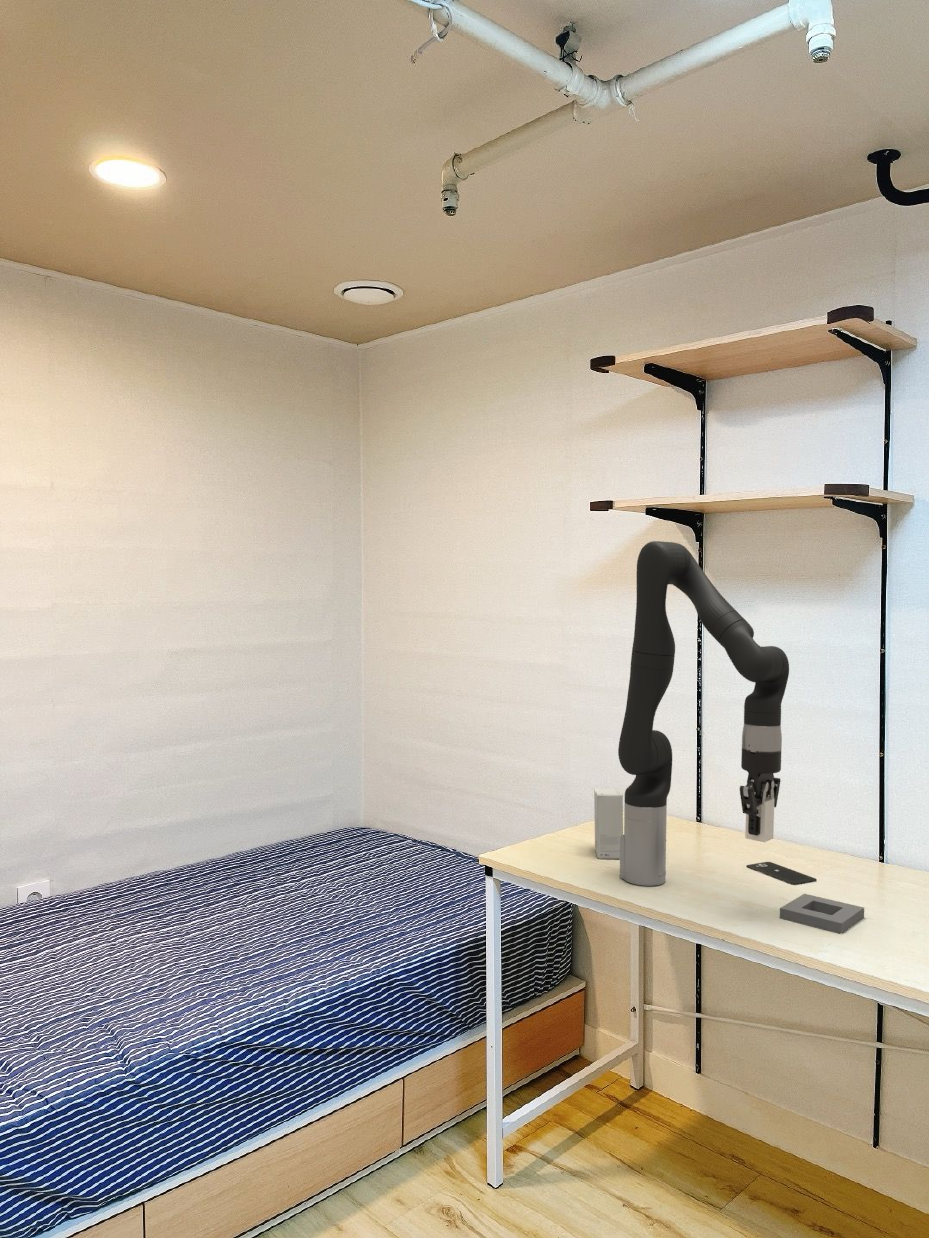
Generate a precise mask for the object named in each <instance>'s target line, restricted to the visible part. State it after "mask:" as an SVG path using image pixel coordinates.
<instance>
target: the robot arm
mask: <svg viewBox="0 0 929 1238" xmlns="http://www.w3.org/2000/svg"><path fill="white" fill-rule="evenodd" d="M668 585H672V586H674V587H675V588H677V589H678V590H680V591H681V592H682V593H683V594H685V596H686V597H687V599H689V600H690V602H691V603H692V605H693V606H694V609H695V611H696V613H697V616H698V618H699V621H700V622H701V624H702V625H703V628H705V630H706V631H707V632H708V633H709V634H710V635H711V636H712V637H713V638H714V639H715V641H716V642H717V643H718V644H720V646H722V648H723V649H724V650H725V651H726V652H725V653H726V654H727V657H729V658H728V659H729V660H730V662H731V663H732V665H733V667H734V668H735V669H736V671H737V672H738V673H739V674H740V675H741V677H743V678H744V679H745V680H747V681H748V682H752V683H754V688H753V691H752V692H751V693H750V694H748V695H746V697H745V699H744V705H743V727H742V734H741V761H740V762H741V769H742V770H744V771H746V772H747V773H748V774H747V778H746V779H747V780H746V785H740V786H739V795H740V802H741V803H740V805H741V810H742V813H743V814H745V815H746V814H747V815H749V821H748V833H749V834H751V835H756V836H757V835H759V834H760V822H761V817H760V815H761V806H762V805H763V804H764V802H765V798H766V797H767V798H770V799H774V808H777V804H778V799H779V793H780V787H781V782H782V781H781V778H779V777H775V776H774V774H778V773H780V772H781V770H782V750H783V749H782V745H783V744H782V742H783V741H782V740H783V739H782V738H783V736H782V735H783V734H782V725H781V724H782V702H783V699H784V695H785V692H786V689H787V685H788V679H789V675H790V662H789V659H788V656H787V654H786V653H785V651H784V650H783V649H782V648H780V647H778V646H774V645H764V646H760V644H758V643H757V642H756V641H755V639H754V636H755V632H754V628H753V627H752V626H751V624H750V623H749V622H748V621H747V620H746V619H745V618H744V617H743V616H742V615H741V614H740V613H739V612H738V611H737V610H736V608H734V607H733V605H731V604H730V603H729V602H728V600H727V599H726V598H725V597H724V596H723V595H722V594H721V592H719V590H718V589H717V588H716V586H715V585H714V584H713V582H711V580H710V579H709V577H708V575H707V574H706V573H705V572H704V571H703V569H702V567H701V566H700V565H699V563H698V562H697V560H696V558H694V556H693V554H692V553H691V552H690V551H689V549H687V547H686V546H684V545H682V544H681V543H678V542H673V541H660V540H659V541H658V540H652V541H648V542H647V543H646V544H644V546H642V548H641V549H640V551H639V554H638V556H637V561H636V603H635V604H636V605H635V607H636V608H635V619H634V633H633V634H634V635H633V642H632V648H631V649H632V650H631V657H630V658H631V659H630V671H629V680H628V689H627V697H626V698H627V700H626V705H625V710H624V711H625V712H624V717H623V723H622V727H621V732H620V737H619V740H618V741H619V742H618V750H617V751H618V752H617V753H618V754H617V755H618V761H619V763H620V765H621V768H622V769H623V770H624V771H625V773H628V774H629V775H632V776H635V777H634V779H633V781H632V783H631V784H630V785H628V786H627V788H626V789H625V791H624V804H623V835H621V837H620V859H619V879H623V880H624V881H625V882H627V883H629V884H632V885H636V886H637V885H638V886H644V887H645V886H649V887H653V886H659V885H662V884H664V883H666V874H667V873H666V872H667V869H666V867H667V862H666V861H667V816H668V815H667V814H668V813H667V808H668V806H667V803H668V796H669V794H670V791H671V787H672V771H673V749H672V744H671V741H670V739H669V738H668V737H667V735H666V734H665V733H663V732H662V731H659V730H656V729H653V728H654V721H655V716H656V712H657V709H658V707H659V705H660V702H661V700H663V697H664V696H665V694H666V692H667V690H668V687H669V686H670V683H671V680H672V678H673V674H674V665H675V657H676V655H675V654H676V642H675V641H676V640H675V638H674V634H673V630H672V627H671V625H670V622H669V619H668V615H667V609H666V608H667V607H666V605H667V603H666V601H667V593H668V591H667V590H668ZM755 798H757V799H760V800H755ZM747 804H748V805H747ZM756 804H757V808H756Z"/></svg>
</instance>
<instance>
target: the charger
mask: <svg viewBox="0 0 929 1238" xmlns="http://www.w3.org/2000/svg"><path fill="white" fill-rule="evenodd" d="M755 800H760V799H757V798H755ZM747 805H748V804H747ZM756 808H757V804H756ZM760 817H761V822H760V834H759V835H757V836H756V835H751V834H749V833H748V821H749V815H747V814H745V836H744V838H745V839H747V840H751V841H756V842H761V843H766V842H769V841H770V840H773V839H774V827H775V826H774V825H775V821H774V820H775V807H774V799H770V798H767V797H766V798H765V802H764V804H763V805H762V806H761V815H760Z"/></svg>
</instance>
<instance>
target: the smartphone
mask: <svg viewBox="0 0 929 1238" xmlns="http://www.w3.org/2000/svg"><path fill="white" fill-rule="evenodd" d="M746 868H747V869H749V870H752V871H754V872H756V873H760V874H762V875H765V876H768V877H769V878H773V879H775V880H778V881H781V882H783V883H786V884H788V885H791V886H798V885H803V884H809V883H815V882H817V878H815V877H813V876H810V875H808V874H807V875H806V874H804V873H802V872H799V871H796V870H794V869H791V868H788V867H786V866H783V865H781V864H777V863H775V862H772V861H762V862H757V863H751V864H746Z"/></svg>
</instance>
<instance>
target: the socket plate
mask: <svg viewBox="0 0 929 1238" xmlns="http://www.w3.org/2000/svg"><path fill="white" fill-rule="evenodd" d="M864 918H865V907H863V906H859V905H855V904H850V903H845V902H842V901H838V900H834V899H829V898H825V897H821V896H816V895H811V894H807V893H803V894H801V895H799V896H798V897H796V898H795V899H793V900H791V901H789V902H788V903H786V904H784V905H783V906H781V907H779V919H782V920H786V921H789V922H794V923H797V924H801V925H806V926H809V927H813V928H816V927H817V928H818V929H821V930H824V931H828V932H832V933H836V932H838V933H837V934H840V933H842V934H844V933H845V932H846V931H848V930H849V929H850V928H852V927H853V926H854V925H856V924H857V923H859V922H860V921H861V920H863V919H864ZM851 926H852V927H851ZM848 928H849V929H848Z"/></svg>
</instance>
